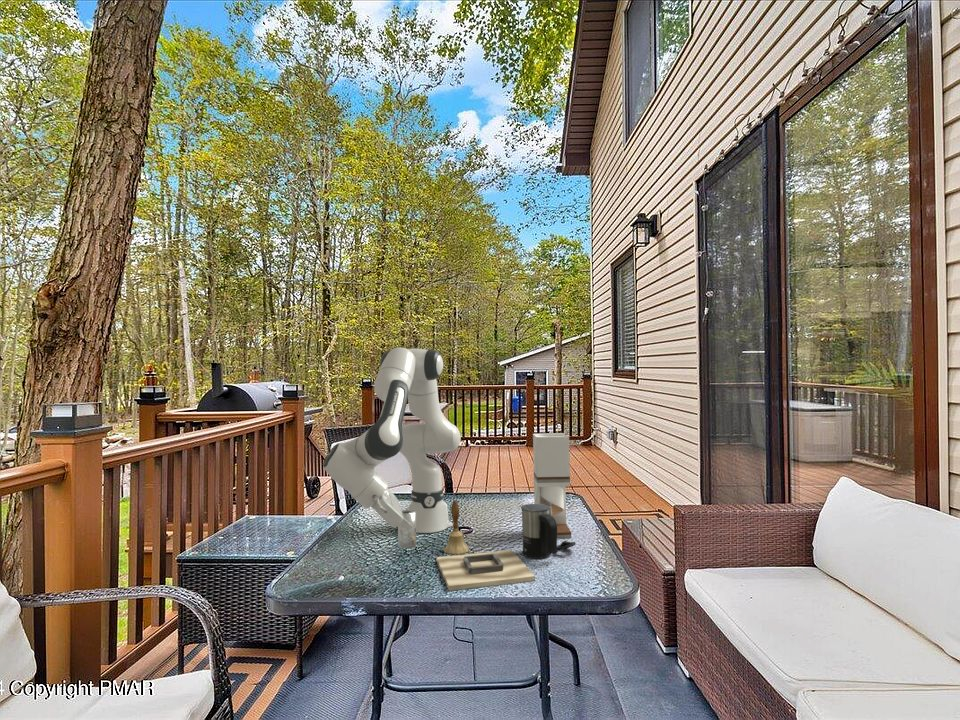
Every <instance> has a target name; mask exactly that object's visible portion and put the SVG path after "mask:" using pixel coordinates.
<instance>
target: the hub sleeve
mask: <svg viewBox="0 0 960 720" xmlns="http://www.w3.org/2000/svg"><path fill="white" fill-rule="evenodd" d="M402 514H403V517H404V519H405V520H407V521H408V522H409V523H410V524H411V525H412V528H411V529H410V531H407V530H406V529H404V528H403V527H401V526H400V525H398V526H397V547H398V548H400V549H411V548H414V547H416V546H417V532H416V511H414V510H406V509H404V510H403V509H402Z"/></svg>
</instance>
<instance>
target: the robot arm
mask: <svg viewBox="0 0 960 720" xmlns="http://www.w3.org/2000/svg"><path fill="white" fill-rule="evenodd" d="M443 359H444V358H443V356H442V354H441V353H440V352H439V350H436V349H425V348H406V347H398V346H397V347H394V348H392V349H388V350H385V352H384V353H383V354H382V355H381V356H380V359H379V360H380V361H379V369H378V372H377V375H376V377H375V380H374V387H373V392H374V394H375V395H376V397H378V398H379V400H381V401H382V402H383V405H382V409H381V411H380V415H379V418H378V420H377V421H376V422H375V423H373V425H371V426H370V428H368V429H367V430H366V431H365V432H363V433H362V434H361V435H360V436H358V437H356V438H354V439H352V440H349V441H346V442H337V443H336V444H334V446H333V447H332V448H331V449H330V451H328V452H327V454H326V455H325V458H324V460H323V464H322V465H323V468H324V471H325V472H326V473H327V474H328V476H329V477H330V478H331V479H332V480H333V481H334V482H335V483H336V484H337V485H338V486H339V487H341V488H342V489H344V490H346V491H347V492H349V494H350V495H351V497H352V499H354V500H355V501H356V502H357V503H359V504H360V505H361V506H362V507H363V508H364V509H365V510H367V509H369V508H371V509H372V510H374V511H375V512H376V513H377V514H378V515H379V516H380V517H381V518H382V520H384V521H385V522H386V523H387V524H388V525H389V526H390V527H392V529H396V528H398V525H400V526H401V527H403V528H404V529H406V530H407V531H410V529H411V528H412V525H411V524H410V523H409V522H408V521H407V520H405V519H404V517H403V514H402V511H403V509H402V508H401V505H400V501H399V499H398V498H397V497H396V495H395V494H394V493H393V491H391V490H390V489H389V488H388V487H389V483H388V481H386V480H385V479H384V478H383V476H381V475H380V474H378V472H376V471H375V467H377V466H378V465H380V464H382V463H384V462H385V461H387V460H388V459H390V458H393V457H395V456H396V455H398V453H399V452H400V454H401V455H403V456H404V458H405V460H406V461H407V462H408V464H409V468H410V471H411V481H412V484H411V485H412V490H411V491H410V492H411V494H410V496H411V497H410V498H411V502H410V504H409V506H407V508H406V507H405V510H414V511H416V534H417V533H418V534H430V533H431V534H432V533H438V532H441V531H445V530H446V529H447V528H450V527H453V522H452V521H450V520H449V513H448V504H447V503H446V501H444V489H443V478H442V476H443V473H442V469H441V467H440V465H439V464H437V463H436V462H433V461H431V460H430V459H429V458H428V457H427V454H432V453H435V454H440V453H443V454H444V453H445V454H446V453H450V452H453V451H456V450H457V449H458V447H459V445H460V444H461V439H462V438H461V437H462V436H461V432H460V430H459V429H458V427H457V426H456V425H455V424H453V423H452V422H451V421H449V420H448V419H447V418H446V416H445V415H444V414H443V412H442V409H441V406H440V401H439V400H440V399H439V389H438V388H439V387H438V382H437V381H438V380H437V379H439V377H441V376H442V373H443V370H444V360H443ZM407 403H408V410H409V412H410V413H411V414H412V416H414V417H415V418H418V419H420V420H421V421H422V422H424V423H407V424H403V422H404V421H403V420H404V417H405V413H406V412H405V411H406V408H407Z"/></svg>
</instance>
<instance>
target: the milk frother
mask: <svg viewBox="0 0 960 720" xmlns="http://www.w3.org/2000/svg"><path fill="white" fill-rule="evenodd" d="M549 508H550V507H549V506H548V505H544V504H534V503H527V504H524V505H521V506H520V509H521V520H522V521H521V524H522V526H521V527H522V551H521V553H522V556H524V557H526V558H529V559H545V558H548V557H551V555H552V554H555V553H556V552H558V551H559V552H560V551H562V550H563V551H567V550H568V549H570V548H572V547H574V546H576V544H577V543H576V542H575V541H573V542H572V541H571V542H570V541H567V540H564V541H561V543H560V544H558V539H557V523H556V521H555V519H554V517H553V516H551V515H549Z"/></svg>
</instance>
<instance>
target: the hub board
mask: <svg viewBox="0 0 960 720" xmlns="http://www.w3.org/2000/svg"><path fill="white" fill-rule="evenodd" d="M436 563H437V566H438V568H439V570H440V573H441V575H442V579H443V580H444V583H445V584H446V587H447V589H448V591H456V590H467V589H468V590H469V589H476V588H483V587H484V588H485V587H493V586H502V585H509V584H517V583H523V582H525V583H526V582H532V581H534V582H535V581H536V575H535V574H534V573H533V572H532V571H531V570H530V568H529V567H528V566H526V565H527V564H525V563H524V562H523V561H522V560H521V558H520V557H519V556H518V555H517V554H516V553H515V552H514V551H513V550H512V549H505V550H495V551H485V552H475V553H464V554H457V555H448V556H447V555H446V556H436Z"/></svg>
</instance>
